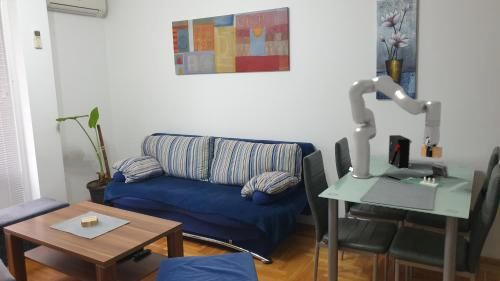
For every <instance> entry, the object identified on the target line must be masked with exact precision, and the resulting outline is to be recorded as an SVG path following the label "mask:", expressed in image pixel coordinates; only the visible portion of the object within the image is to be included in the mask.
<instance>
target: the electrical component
mask: <svg viewBox="0 0 500 281" xmlns="http://www.w3.org/2000/svg"><path fill="white" fill-rule="evenodd" d="M388 139H389V141H388V164H390V165H393V166H394V167H395V168H397V169H399V170H401V169H406V168H408V169H410V167H412V164H411V163H410V154H411V153H410V151H411V144H412V143H413V141H412V139H410V138H407V137H405V136H404V135H400V134H398V135H397V134H394V135H393V134H391V135H389V138H388Z"/></svg>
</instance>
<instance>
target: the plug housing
mask: <svg viewBox="0 0 500 281" xmlns="http://www.w3.org/2000/svg"><path fill="white" fill-rule="evenodd" d="M420 156H421V157H425V158H427V157H426V147H425V144H424V145H421V146H420ZM432 158H434V159H440V158H443V146H437V147H435V146H432V157H431V159H432Z"/></svg>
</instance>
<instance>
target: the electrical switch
mask: <svg viewBox="0 0 500 281" xmlns="http://www.w3.org/2000/svg"><path fill="white" fill-rule="evenodd" d="M431 170H432V175H434V176H435V175H437V176H441V177H442V178H450V175H449V170H448V165H447V164H443V163H439V162H434V163H433V165H431Z"/></svg>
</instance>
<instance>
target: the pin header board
mask: <svg viewBox="0 0 500 281" xmlns="http://www.w3.org/2000/svg"><path fill="white" fill-rule="evenodd" d="M408 177H409V176H407V177H406V178H408ZM398 181H399V182H403V183H408V184H414V185H418V186H423V187H427V188H432V189H438V188H442V187H443V186H445V185H448V183H447V182H443V181H439V180H436V179H435V178H432V179H431V177H428V178H427V176H424V177H422V178H421V177H417V179H412V180H407V179H406V180H405V178H402V179H400V180H398Z"/></svg>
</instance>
